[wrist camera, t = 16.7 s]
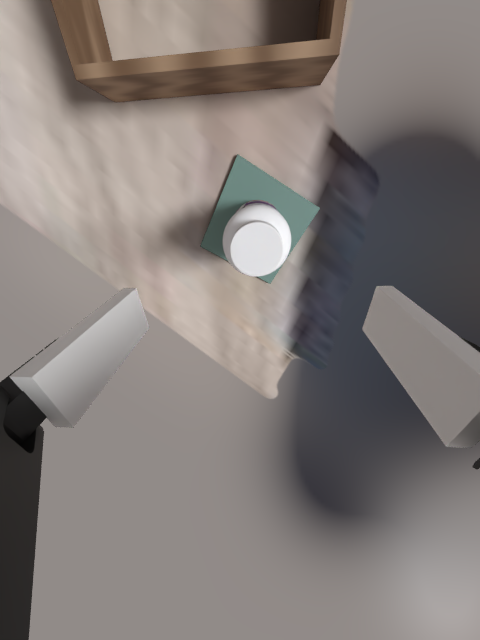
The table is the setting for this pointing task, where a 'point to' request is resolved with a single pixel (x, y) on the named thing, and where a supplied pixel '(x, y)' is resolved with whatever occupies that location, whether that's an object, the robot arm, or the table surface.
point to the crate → (195, 59)
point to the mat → (257, 185)
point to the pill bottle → (256, 239)
